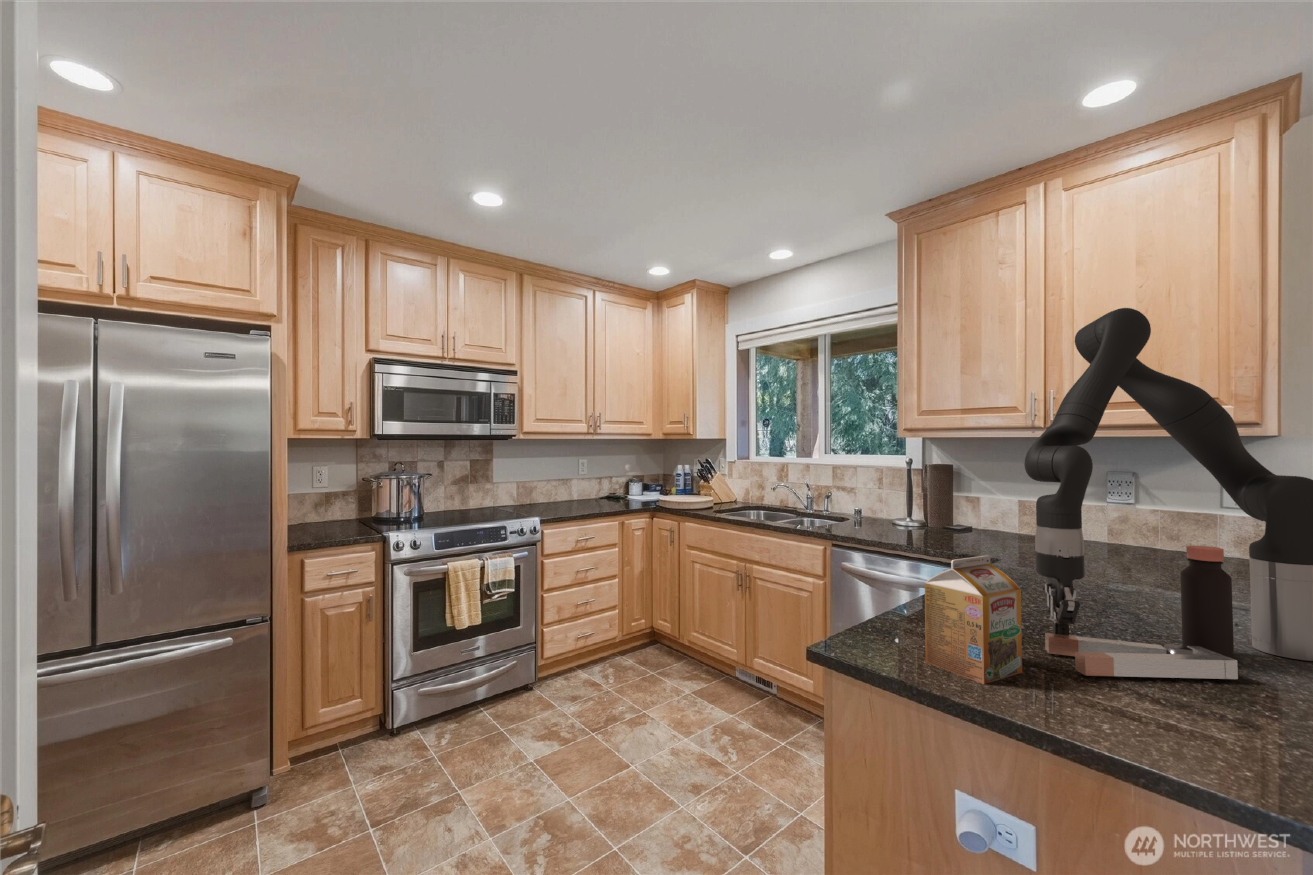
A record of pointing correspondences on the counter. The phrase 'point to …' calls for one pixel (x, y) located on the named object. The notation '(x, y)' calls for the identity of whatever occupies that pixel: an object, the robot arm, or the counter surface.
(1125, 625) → the counter surface
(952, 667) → the milk carton
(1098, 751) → the counter surface
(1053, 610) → the robot arm
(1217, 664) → the tongs fixed leg
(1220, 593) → the bottle
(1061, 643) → the leg
